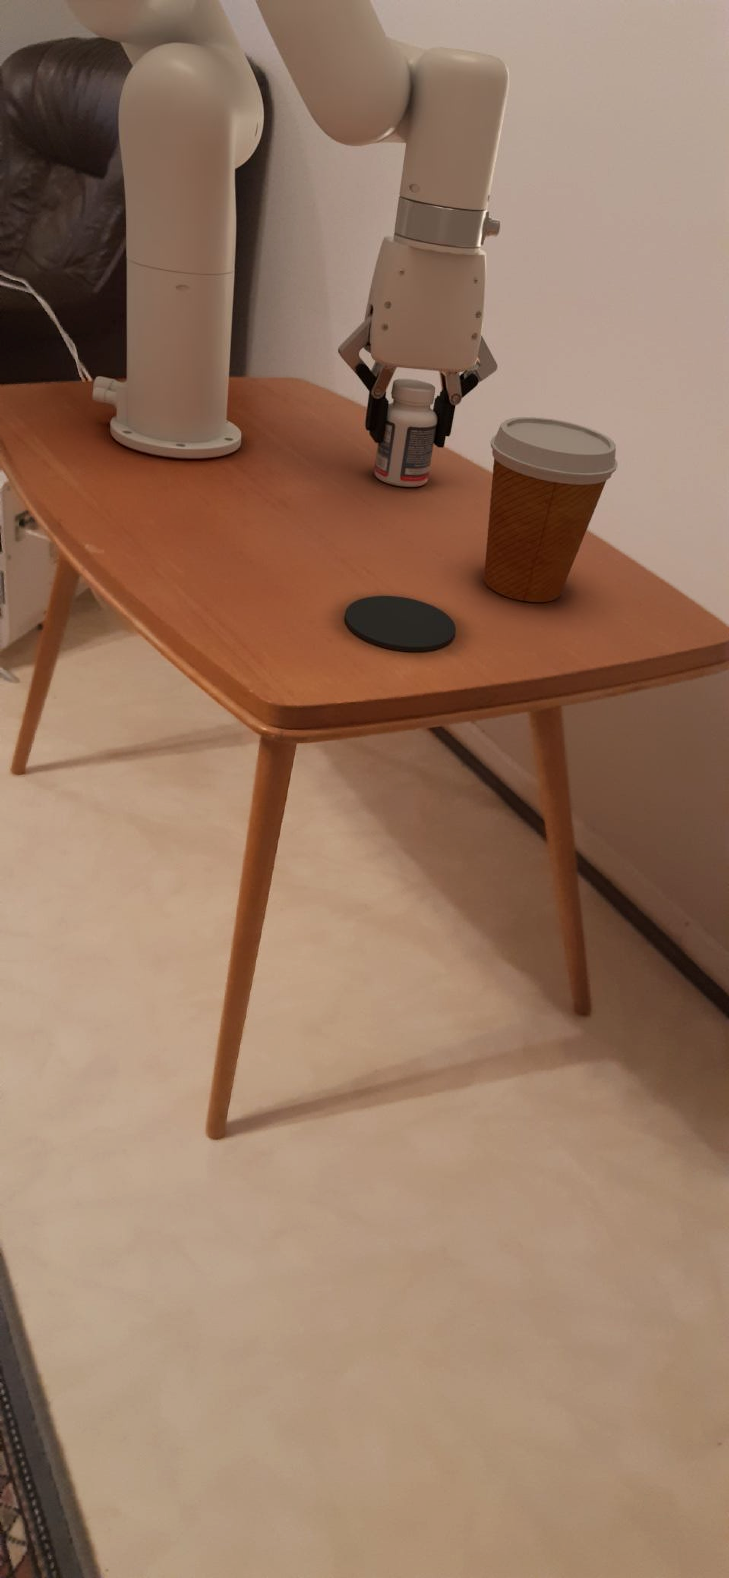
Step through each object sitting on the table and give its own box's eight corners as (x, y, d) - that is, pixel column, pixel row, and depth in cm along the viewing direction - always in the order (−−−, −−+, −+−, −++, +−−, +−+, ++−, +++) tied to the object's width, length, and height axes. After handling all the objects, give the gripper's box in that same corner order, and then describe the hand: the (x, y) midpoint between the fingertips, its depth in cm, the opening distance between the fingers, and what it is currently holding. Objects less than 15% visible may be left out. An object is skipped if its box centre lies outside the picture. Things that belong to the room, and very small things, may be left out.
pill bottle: (433, 478, 101) (449, 385, 96) (418, 492, 97) (434, 396, 92) (383, 465, 102) (396, 373, 97) (366, 479, 98) (379, 383, 93)
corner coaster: (328, 633, 71) (329, 627, 71) (364, 591, 77) (364, 586, 77) (439, 662, 69) (440, 657, 69) (465, 617, 76) (467, 613, 76)
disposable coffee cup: (493, 551, 87) (524, 407, 81) (597, 587, 84) (639, 440, 77) (443, 584, 80) (472, 429, 74) (554, 624, 77) (596, 466, 70)
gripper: (518, 232, 92) (478, 435, 103) (333, 208, 88) (311, 422, 99) (547, 246, 87) (502, 460, 97) (350, 222, 82) (325, 447, 93)
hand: (406, 439), depth 98 cm, fingers closed on pill bottle, 5 cm apart
